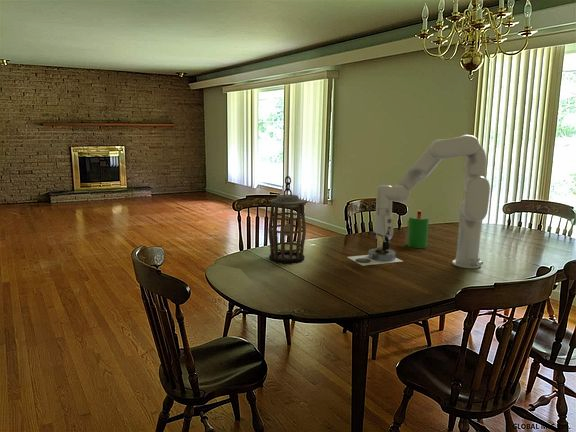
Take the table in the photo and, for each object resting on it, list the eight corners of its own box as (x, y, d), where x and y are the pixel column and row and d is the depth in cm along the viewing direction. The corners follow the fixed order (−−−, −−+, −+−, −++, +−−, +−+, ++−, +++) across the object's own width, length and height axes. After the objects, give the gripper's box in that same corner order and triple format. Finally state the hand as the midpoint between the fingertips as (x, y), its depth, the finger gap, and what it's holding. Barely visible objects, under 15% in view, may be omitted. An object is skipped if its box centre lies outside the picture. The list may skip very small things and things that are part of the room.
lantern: (314, 257, 222) (316, 175, 214) (294, 267, 205) (295, 179, 198) (280, 251, 231) (281, 173, 224) (258, 260, 215) (259, 176, 208)
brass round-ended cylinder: (389, 255, 218) (390, 236, 216) (380, 256, 216) (381, 237, 215) (383, 253, 223) (384, 234, 221) (374, 254, 221) (375, 235, 219)
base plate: (403, 263, 214) (403, 260, 214) (362, 267, 206) (362, 264, 206) (385, 255, 228) (385, 252, 228) (346, 258, 220) (346, 256, 220)
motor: (425, 244, 250) (427, 208, 247) (428, 248, 242) (431, 211, 238) (406, 243, 251) (408, 208, 248) (409, 247, 243) (411, 211, 239)
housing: (400, 259, 216) (400, 253, 215) (377, 262, 211) (377, 256, 211) (385, 253, 227) (385, 247, 227) (363, 255, 223) (363, 249, 222)
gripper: (401, 213, 209) (399, 252, 212) (380, 207, 225) (379, 243, 228) (387, 214, 206) (385, 253, 210) (367, 208, 222) (366, 245, 225)
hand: (382, 248), depth 219 cm, fingers closed on brass round-ended cylinder, 5 cm apart
